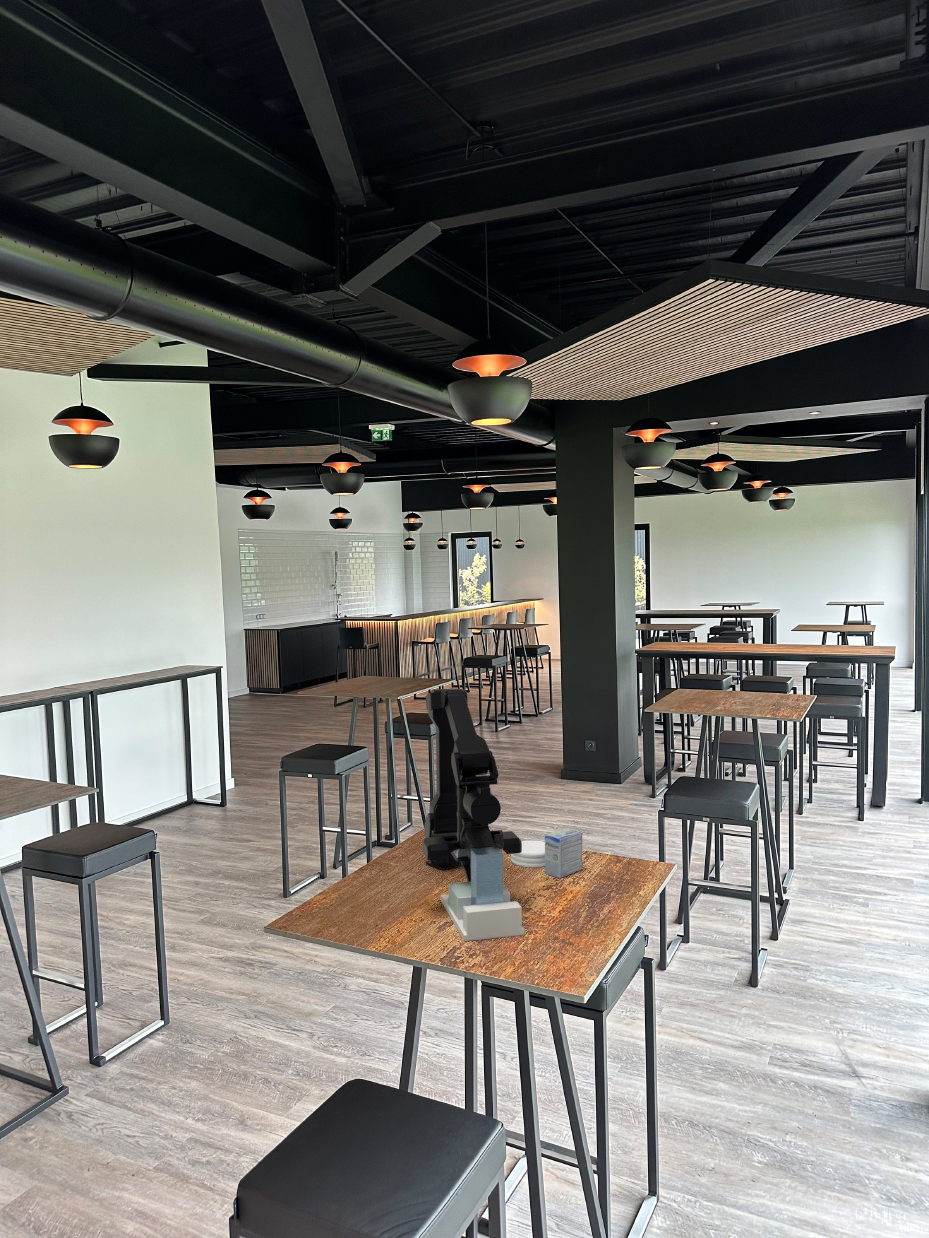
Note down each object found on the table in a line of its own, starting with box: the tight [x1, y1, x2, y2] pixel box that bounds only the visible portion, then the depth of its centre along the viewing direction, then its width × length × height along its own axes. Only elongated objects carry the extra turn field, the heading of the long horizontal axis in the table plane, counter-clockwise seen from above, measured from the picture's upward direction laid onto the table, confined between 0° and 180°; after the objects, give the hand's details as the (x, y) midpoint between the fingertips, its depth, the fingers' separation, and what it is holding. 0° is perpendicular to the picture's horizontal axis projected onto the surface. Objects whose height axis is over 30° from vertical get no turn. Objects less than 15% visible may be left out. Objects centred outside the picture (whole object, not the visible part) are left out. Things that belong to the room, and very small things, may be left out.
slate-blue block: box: [471, 847, 504, 906], centre depth 149 cm, size 4×5×13 cm
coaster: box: [510, 840, 545, 868], centre depth 187 cm, size 10×10×4 cm
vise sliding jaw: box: [447, 881, 511, 920], centre depth 155 cm, size 8×10×4 cm
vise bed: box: [440, 893, 525, 942], centre depth 154 cm, size 20×11×5 cm, turn 14°
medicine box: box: [544, 827, 583, 879], centre depth 179 cm, size 8×4×9 cm, turn 135°
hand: (472, 888), depth 160 cm, fingers closed, pressing on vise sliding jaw
